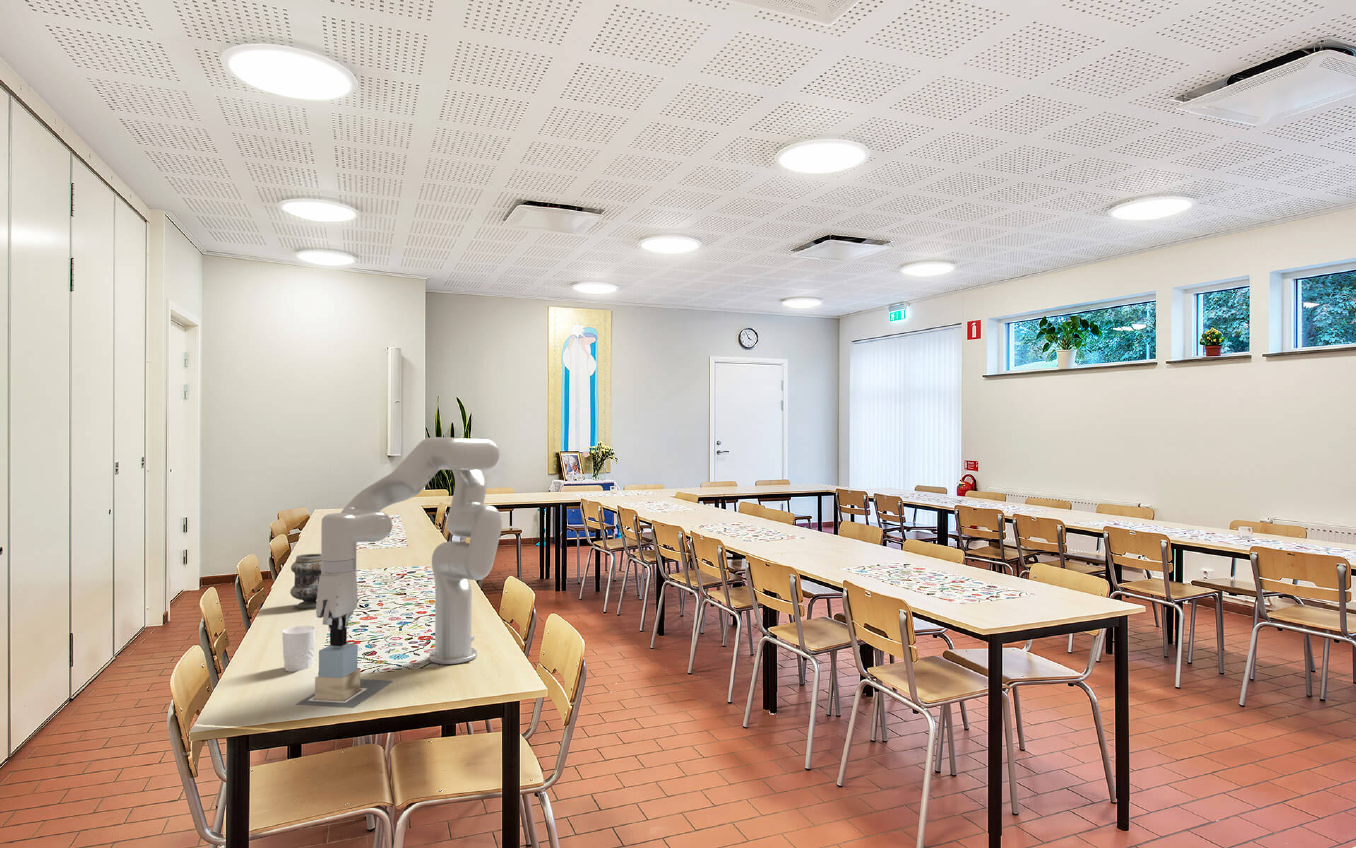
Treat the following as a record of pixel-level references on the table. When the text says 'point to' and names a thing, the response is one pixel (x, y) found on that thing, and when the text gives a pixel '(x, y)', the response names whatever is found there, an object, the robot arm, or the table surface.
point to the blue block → (338, 660)
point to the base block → (337, 687)
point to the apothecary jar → (306, 580)
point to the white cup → (298, 647)
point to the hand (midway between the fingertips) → (338, 645)
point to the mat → (365, 692)
